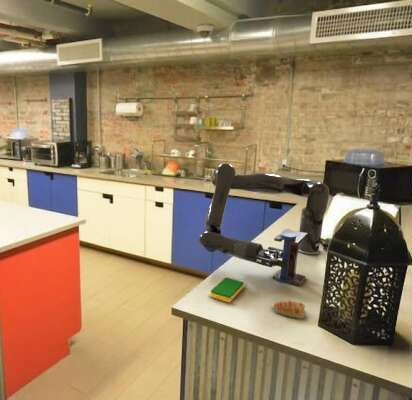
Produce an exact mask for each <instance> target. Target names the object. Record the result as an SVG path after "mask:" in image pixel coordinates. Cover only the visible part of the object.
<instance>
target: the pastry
mask: <svg viewBox="0 0 412 400" xmlns="http://www.w3.org/2000/svg"><path fill="white" fill-rule="evenodd" d="M272 308H273V310H274V312H276V313H278V314H279V315H283V316H285V317H289V318H296V319H298V320H299V319H300V320H302V319H304V318H305V317H306V310H305V304H304V303H303V302H302V301H300V302H297V301H293V300H288V301H279V302H275V303H274V304H273V307H272Z"/></svg>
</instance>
